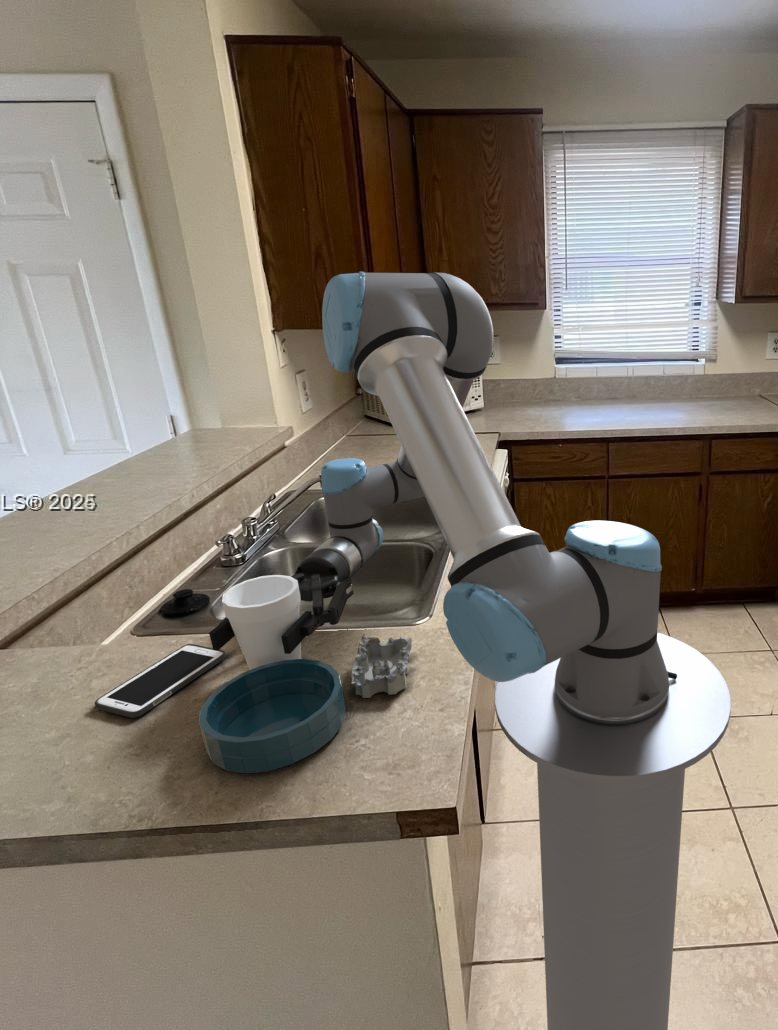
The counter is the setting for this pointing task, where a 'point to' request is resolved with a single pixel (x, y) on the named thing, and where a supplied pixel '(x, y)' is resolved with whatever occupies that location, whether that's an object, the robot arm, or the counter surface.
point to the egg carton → (381, 666)
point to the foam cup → (263, 617)
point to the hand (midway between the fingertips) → (249, 643)
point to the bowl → (272, 715)
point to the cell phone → (159, 680)
